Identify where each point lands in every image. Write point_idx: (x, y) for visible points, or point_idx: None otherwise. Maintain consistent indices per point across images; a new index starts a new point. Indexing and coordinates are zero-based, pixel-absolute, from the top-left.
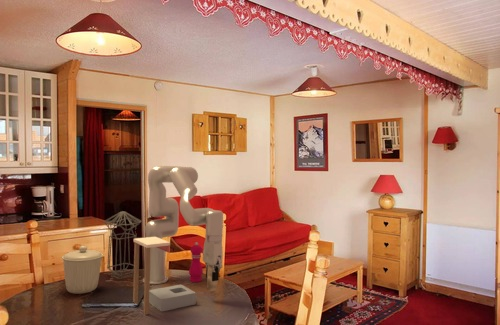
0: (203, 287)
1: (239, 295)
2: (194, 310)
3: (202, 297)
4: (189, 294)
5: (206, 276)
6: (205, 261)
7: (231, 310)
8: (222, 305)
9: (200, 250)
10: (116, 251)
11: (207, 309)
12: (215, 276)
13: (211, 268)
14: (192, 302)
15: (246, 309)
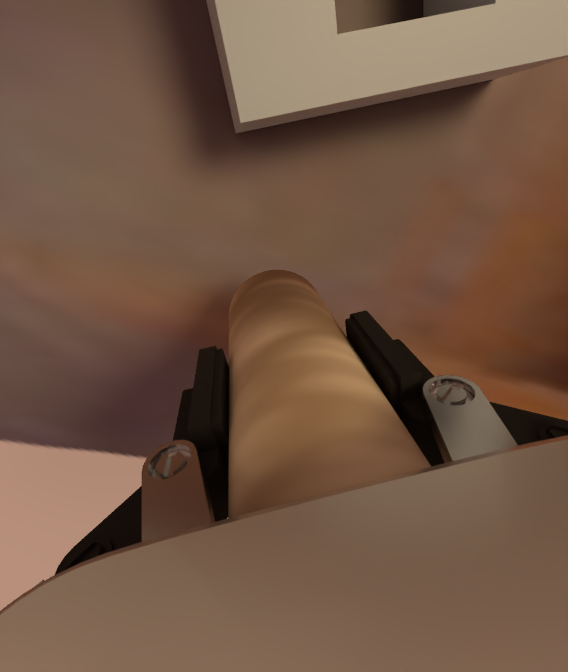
0: (529, 306)
1: None
2: (76, 61)
3: (360, 241)
4: (217, 16)
5: (357, 320)
6: (495, 491)
7: (39, 352)
8: (153, 325)
9: None
10: None
11: (85, 193)
12: (182, 418)
13: (241, 464)
14: (227, 92)
15: (48, 434)
